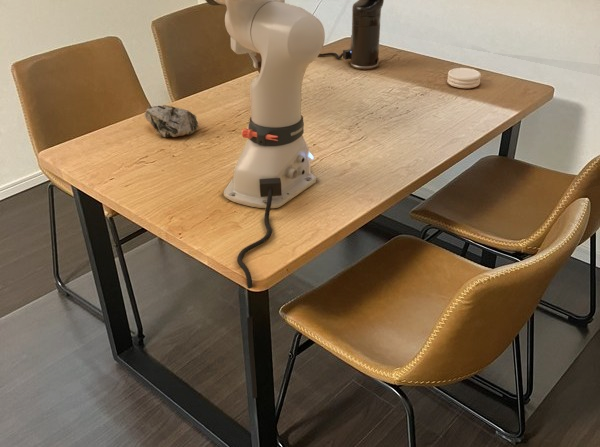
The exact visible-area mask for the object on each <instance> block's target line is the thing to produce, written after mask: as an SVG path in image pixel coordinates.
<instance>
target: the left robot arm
mask: <svg viewBox="0 0 600 447" xmlns="http://www.w3.org/2000/svg"><path fill="white" fill-rule="evenodd" d="M204 1H205V2H206V3H207V4H208V5H210V6H226V11H225V14H224V25H225V30H226V31H227V34H228V35H229V36H230V49H231V50H232V52H233V53H235V54H236V55H244V54H245V55H246V54H248V55H249V57H250V59H251V60H252V64H253V68H254V69H257V68H261V70H260V74H259V73H258V75H256V76H255V77H254V78H253V79H252V80H251V82H250V84H249V101H250V102H249V103H250V117H249V123H248V126H247V128H245V127H244V128H243V129H242V131H241V137H242V138H244V139H247V140H246V142H245V144H244V146H243V148H242V151H241V153H240V154H239V157H238V159H237V161H236V163H235V166H234V167H233V168H234V169H233V177H232V178H231V180H230V181H229V183H228V184H227V186H226V187H225V188H224V190H223V196H224V198H225V199H228V200H229V201H231V202H233V203H237V204H239V205H244V206H248V207H252V208H258V209H264V210H265V212H264V217H263V218H264V220H263V221H264V225H265V228H266V233H265V235H264V236H263V237H262V238H260V239H259V240H257V241H255V242H253V243H251V244H249V245H247V246H246V247H244V248H243V249H242V250H240V252H239V253H238V254H237V259H236V262H237V264H238V266H239V268H241V270H242V271H243V272H244V275H245V278H246V286H247V288H248V289H252V288H254V287H253V278H252V275H251V272H250V269H249V268H248V266H247V265H246V263H245V262H244V261H243V259H244V257H245V255H246V254H247V253H248V252H250V251H251V250H253V249H255V248H257V247H259V246H262V245H263V244H265V243H266V242H267V241H268V240H269V239H270V238H271V236H272V232H273V231H272V227H271V224H270V212H271V209H278V208H280V207H283V205H285V204H286V203H288V202H289V201H292V199H294V198H295V197H296V196H298V195H299V194H301V193H303V192H304V191H305V190H307V189H308V188H309V187H311V186H313V185H314V184H316V182H317V176H316V175H315V174H314V173H312V167H311V160H314V155H312V153H311V151H310V147H309V145H308V144H307V142H306V140H305V138H304V133H305V132H304V131H305V130H304V127H305V121H304V116H303V115H302V89H303V80H304V77H305V74H306V72H307V71H306V70H307V68H308V67H309V66H310V64H311V63H313V62H314V61H315V60H316V59H317V58H318V57H319V56H318V55H319V54H321V52H322V50H323V48H324V45H325V39H326V33H325V28H324V25H323V23H322V21H321V20H320V19H319V18H318V17H317V16H315V15H314V14H312V13H311V12H309V11H308V10H306V9H304V8H303V7H300V6H297V5H293V4H290V3H287V2H286V1H285V0H204ZM256 52H257V53H260V55H261V58H262V65H261V61H259V60H257V59H256V58H255V56H256V55H257V54H256ZM246 323H247V324H246V325H247V327H246V328H247V340H248V341H247V345H248V358H249V369H250V372H249V373H250V383H251V396H252V399H258V388H257V387H258V386H257V376H256V373H257V372H256V362H255V348H254V346H255V345H254V331H253V329H254V328H253V326H254V325H253V316H248V317H246Z"/></svg>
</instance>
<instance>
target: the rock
mask: <svg viewBox="0 0 600 447" xmlns="http://www.w3.org/2000/svg"><path fill="white" fill-rule="evenodd" d="M144 118H145V119H146V121H147V122H149V124H150V125H151V126H153V129H154V131H156V132H157V134H159V135H160V137H163V138H171V137H173V138H177V137H180V136H185V135H191V134H194V133H195V131H197V130H198V129H199V121H198V120H197V116H196V114H194V113H193V112H191V111H189V110H187V109H184V108H180V107H174V106H172V105H166V104H163V105H154V106H149V107H147V108H146V109H145V113H144Z"/></svg>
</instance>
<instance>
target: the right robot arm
mask: <svg viewBox="0 0 600 447" xmlns="http://www.w3.org/2000/svg"><path fill="white" fill-rule="evenodd" d="M384 1H385V0H357V1H356V2H354V3H353V4H352V7H351V8H352V10H351V11H352V12H351V35H350V49H343V50H342V53H341V54H339V55H338V53H336V52H325V53H320V54H319V55H318V57H326V56H335V58H336V60H341V59H344V60H349V63H350V64H349V65H350V67H351V68H353V69H356V70H361V71H362V70H366V71H367V70H373V69H376V68H378V67H379V60H380V57H379V56H380V55H379V54H380V37H381V17H382V16H381V15H382V8H383V5H384Z"/></svg>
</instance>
